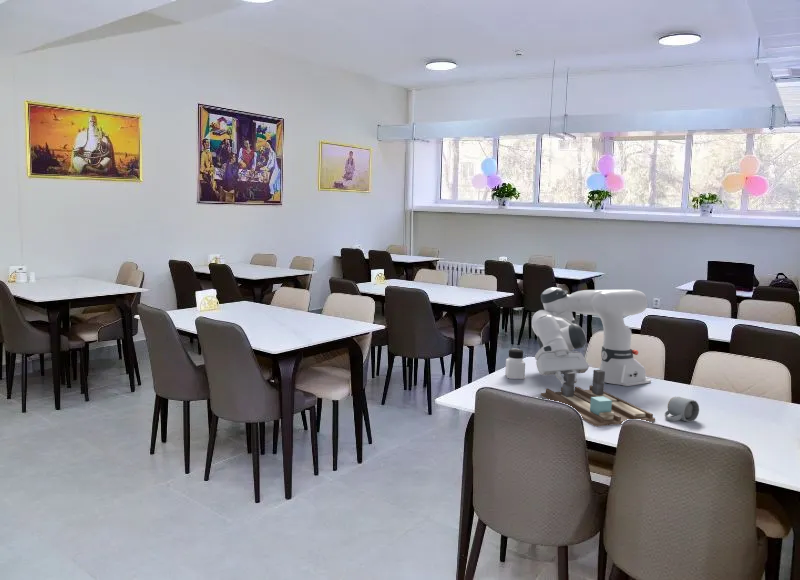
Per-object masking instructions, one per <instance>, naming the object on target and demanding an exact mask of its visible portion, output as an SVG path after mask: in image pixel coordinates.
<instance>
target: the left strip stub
mask: <svg viewBox="0 0 800 580" xmlns="http://www.w3.org/2000/svg"><path fill="white" fill-rule="evenodd" d="M592 371H593V374H592V385H591V386H592V393H591V394H593V395H596V396H598V397H600V396H604V397H606V398H608V399H610V400H612V402H617V400H616V399H614V398H612V397H610V396H608V395H606V394H604V391H605V382H604V379H605V371H603V370H600V369H593V370H592Z"/></svg>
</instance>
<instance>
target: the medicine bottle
mask: <svg viewBox="0 0 800 580" xmlns="http://www.w3.org/2000/svg"><path fill="white" fill-rule="evenodd" d="M525 370H526V362H525V360H524V351H523V349H519V348H511V349H509V350H508V358H506V359H505V373H504V374H505V376H506V378H507V379H508V378H509V380H510V379H511V380H525V377H526V376H525V374H526V373H525V372H526V371H525Z"/></svg>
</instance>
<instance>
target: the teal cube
mask: <svg viewBox="0 0 800 580" xmlns="http://www.w3.org/2000/svg"><path fill="white" fill-rule="evenodd" d="M611 407H612V400H610V399H608V398H606V397H604V396H600V397H591V403H590V411H591V412H593V413H595V414H597V415H599V414H600V413H602V412H611Z"/></svg>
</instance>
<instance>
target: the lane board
mask: <svg viewBox="0 0 800 580" xmlns="http://www.w3.org/2000/svg"><path fill="white" fill-rule="evenodd" d="M562 389H563V387H561V388H560V391H554V390H552V389H550V388H545V392H540V396H541V397H542V398H544V399H546V400H548V399H550V400H554V401H559V402H562V403H565V404H568V405H570V406H572V407H573V408H575V409H576V410H577V411H578V412H579V413H580V414H581V416H582V418H583V419H582V420H583V421H585V422H587V423H589V424H590V425H591V426H594V427H604V426H615V425H616V426H617V425H622V424H621V423H622V422H623V421H625V420H627V419H641V420H646V421H650V422H656V418H655V417H654V414H653V413H651V412H650V411H647V410H645V409H643V408H641V407H639V406H636V405H634V404H632V403H631V402H628V401H627V400H624V399H621V398H619V397H618V396H615V395H614V394H612V393H609V392H607V391H605V390H604V394H606V395H608V396H610V397H612V398H614V399H616V400H617V402H619V401H621V402H623V403H625V404H627V405H629V406H631V407H633V408H635V409H638V410H640V411H642V412H644V413H646V416H645V417H636V415H634V414H632V413H630V412H628V411H626V410H624V409H622V408H620V407H618V406H616V405H614V404H612V407H611V412H614V418H613V419H611V420H604V418H603V417H601V416H599V415H597V414H595V413H593V412H591V411H589V410H588V409H586V408H584V407H582V406H580V405H578V404H576V403H574V402H573V401H571V400H569V399H567V398H565V397H563V396H561V395H562ZM591 393H592V385H589V389H583V388H581V387H579V386H574V396H576V397H578V398H580V399H582V400H584V401H586V402H588V403H591V397H598V396H596V395H593V394H591ZM550 400H549V401H550Z"/></svg>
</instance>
